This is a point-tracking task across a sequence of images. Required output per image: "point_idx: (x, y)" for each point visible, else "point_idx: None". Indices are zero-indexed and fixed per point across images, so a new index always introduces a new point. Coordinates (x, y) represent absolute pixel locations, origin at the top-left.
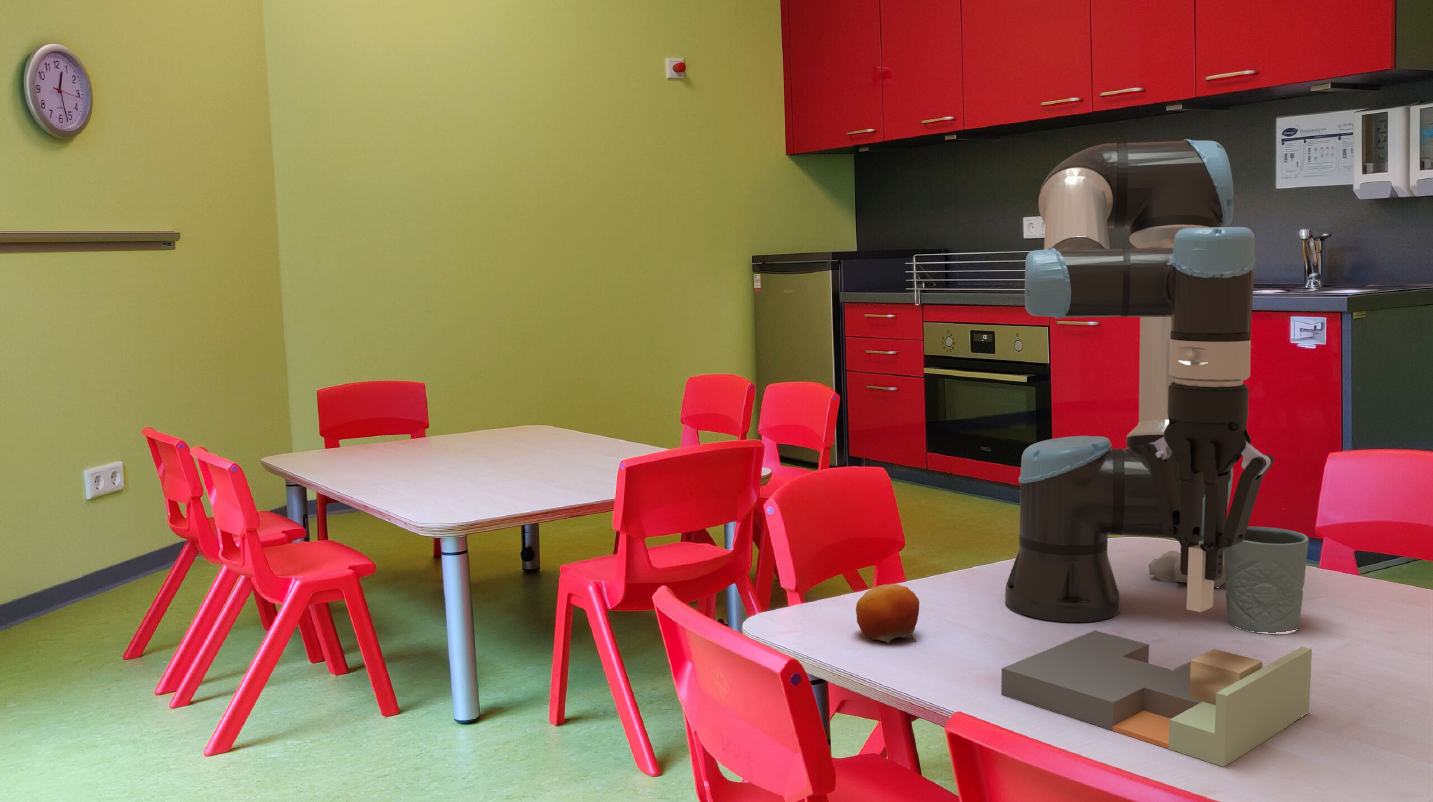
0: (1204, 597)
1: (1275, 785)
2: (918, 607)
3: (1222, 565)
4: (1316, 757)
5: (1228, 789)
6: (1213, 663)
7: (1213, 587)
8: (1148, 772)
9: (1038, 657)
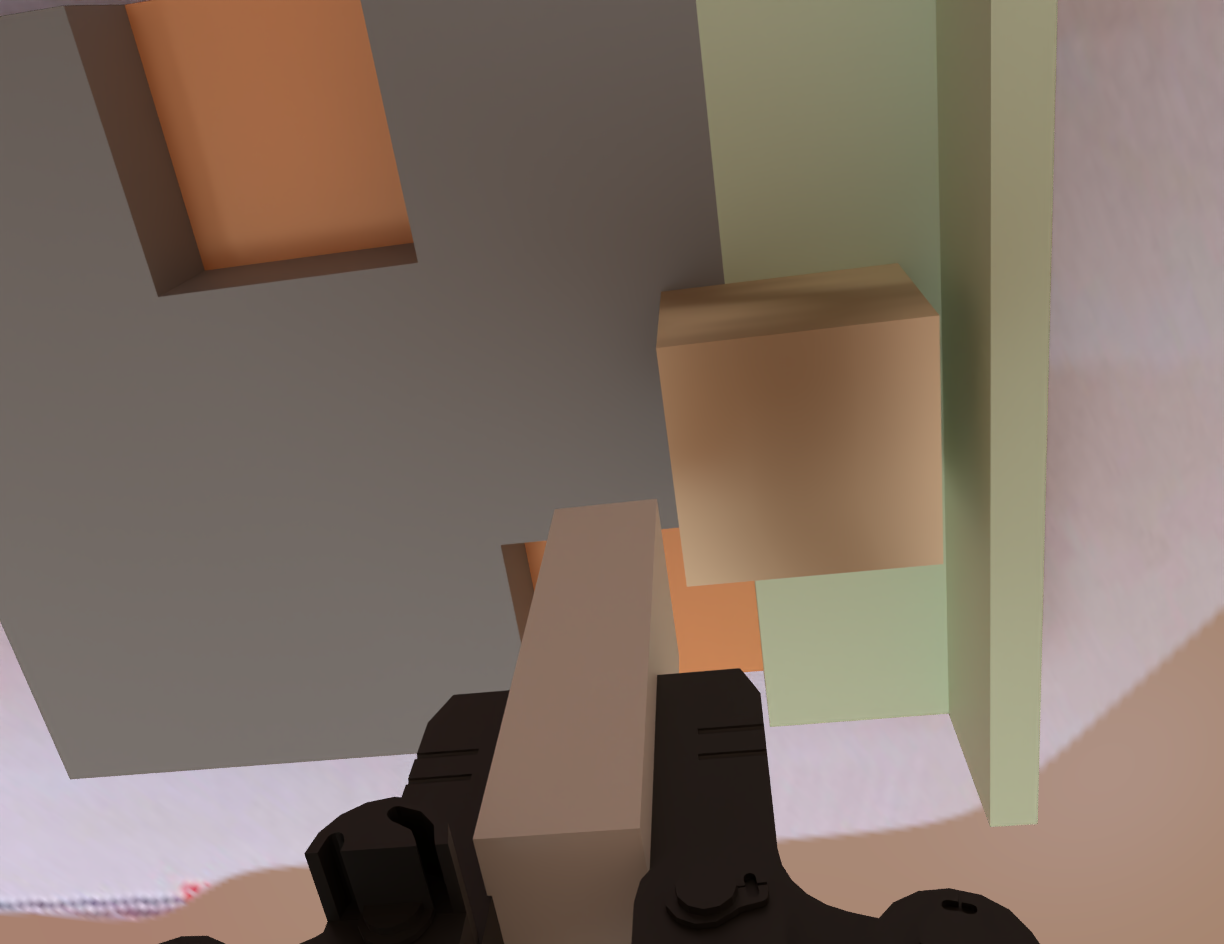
0: (671, 667)
1: (1144, 635)
2: None
3: (764, 749)
4: (1168, 326)
5: (1046, 755)
6: (783, 542)
7: (654, 575)
8: (821, 823)
9: (20, 598)
